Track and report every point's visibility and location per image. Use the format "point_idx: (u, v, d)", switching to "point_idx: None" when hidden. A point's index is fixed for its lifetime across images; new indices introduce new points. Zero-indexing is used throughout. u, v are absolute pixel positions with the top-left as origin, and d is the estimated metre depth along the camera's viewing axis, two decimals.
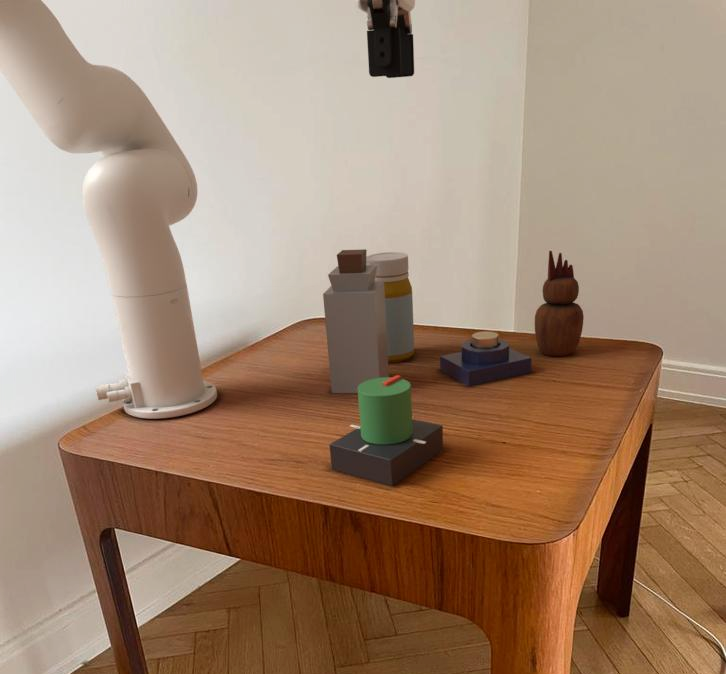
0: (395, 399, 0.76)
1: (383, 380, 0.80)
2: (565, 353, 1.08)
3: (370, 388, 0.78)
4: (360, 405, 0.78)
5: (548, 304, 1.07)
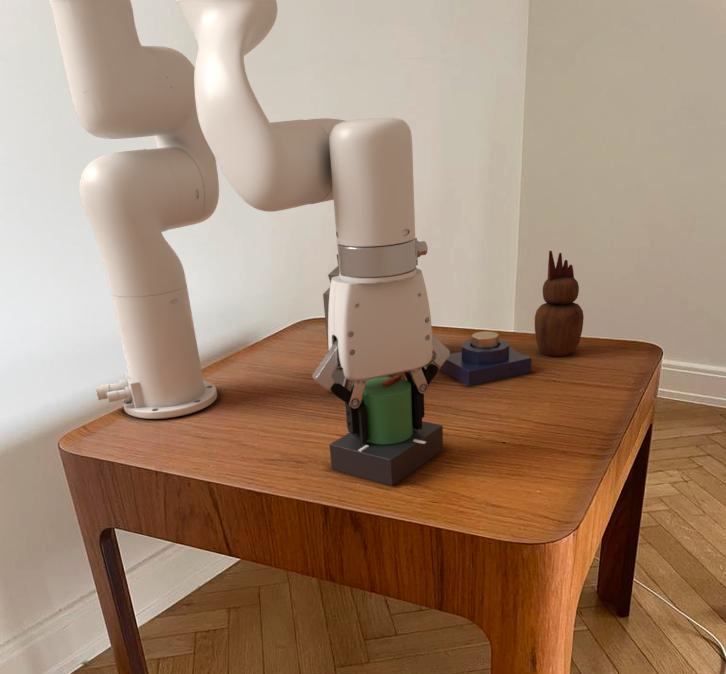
0: (395, 399, 0.76)
1: (383, 380, 0.80)
2: (565, 353, 1.08)
3: (370, 388, 0.78)
4: None
5: (548, 304, 1.07)
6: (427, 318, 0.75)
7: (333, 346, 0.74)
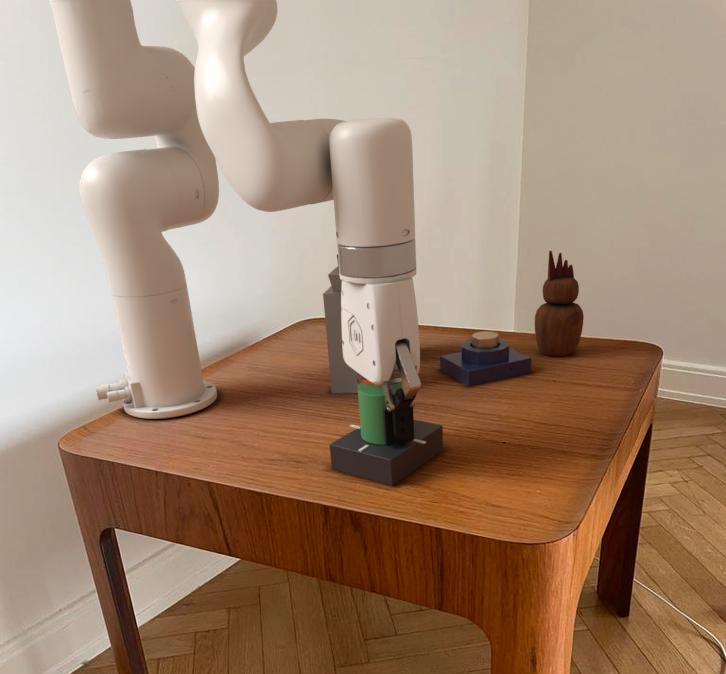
0: None
1: (367, 387, 0.78)
2: (565, 353, 1.08)
3: None
4: None
5: (548, 304, 1.07)
6: None
7: (401, 351, 0.71)
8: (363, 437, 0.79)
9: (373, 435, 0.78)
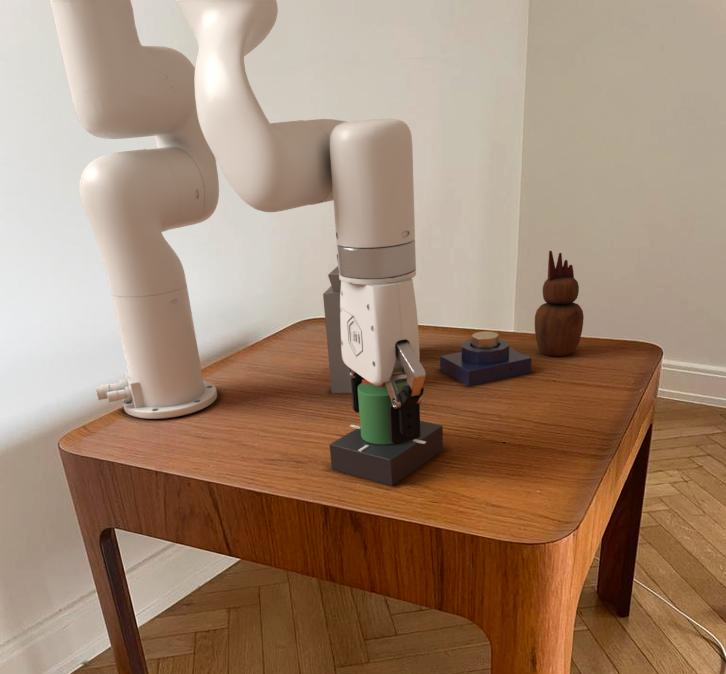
0: None
1: (367, 387, 0.78)
2: (565, 353, 1.08)
3: None
4: None
5: (548, 304, 1.07)
6: None
7: (401, 346, 0.71)
8: (363, 437, 0.79)
9: (373, 435, 0.78)
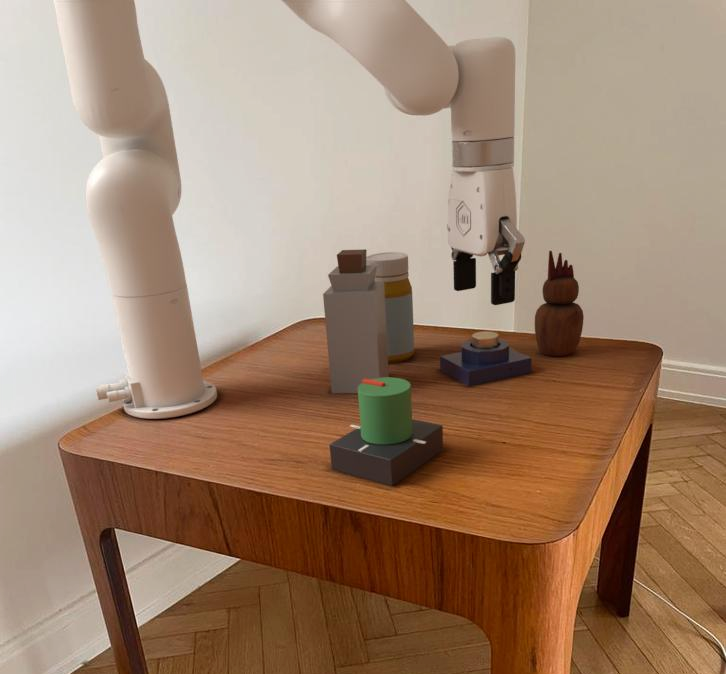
0: None
1: (367, 387, 0.78)
2: (565, 353, 1.08)
3: (389, 390, 0.77)
4: (395, 409, 0.76)
5: (548, 304, 1.07)
6: None
7: (504, 221, 0.90)
8: (363, 437, 0.79)
9: (373, 435, 0.78)
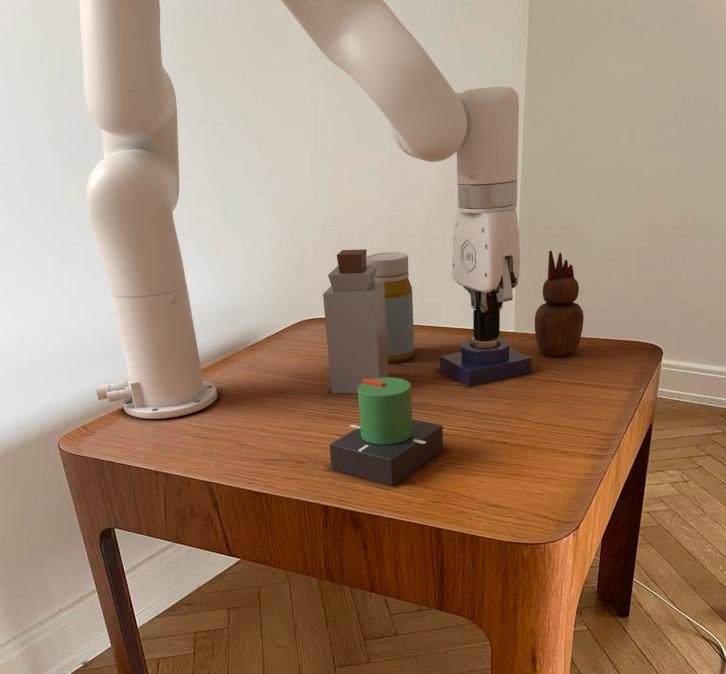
0: None
1: (367, 387, 0.78)
2: (565, 353, 1.08)
3: (389, 390, 0.77)
4: (395, 409, 0.76)
5: (548, 304, 1.07)
6: None
7: (504, 270, 0.95)
8: (363, 437, 0.79)
9: (373, 435, 0.78)
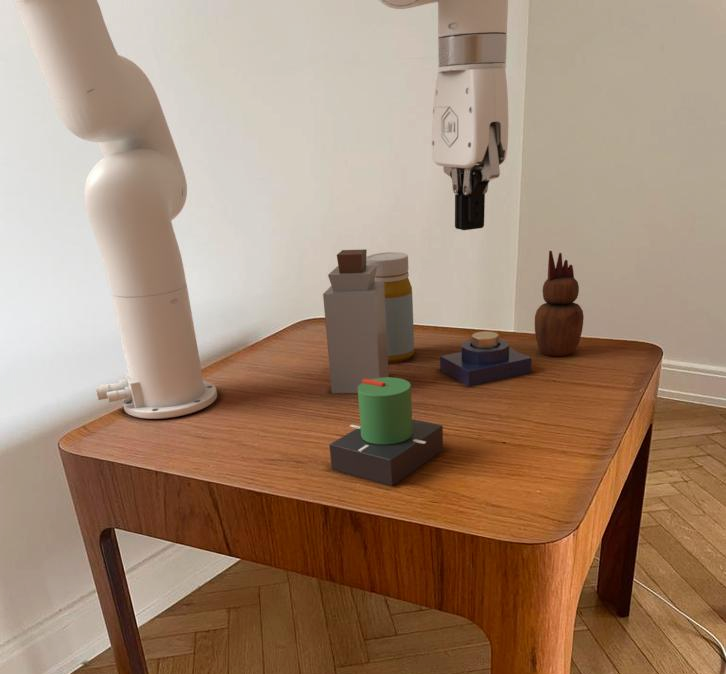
0: None
1: (367, 387, 0.78)
2: (565, 353, 1.08)
3: (389, 390, 0.77)
4: (395, 409, 0.76)
5: (548, 304, 1.07)
6: None
7: (490, 140, 0.83)
8: (363, 437, 0.79)
9: (373, 435, 0.78)
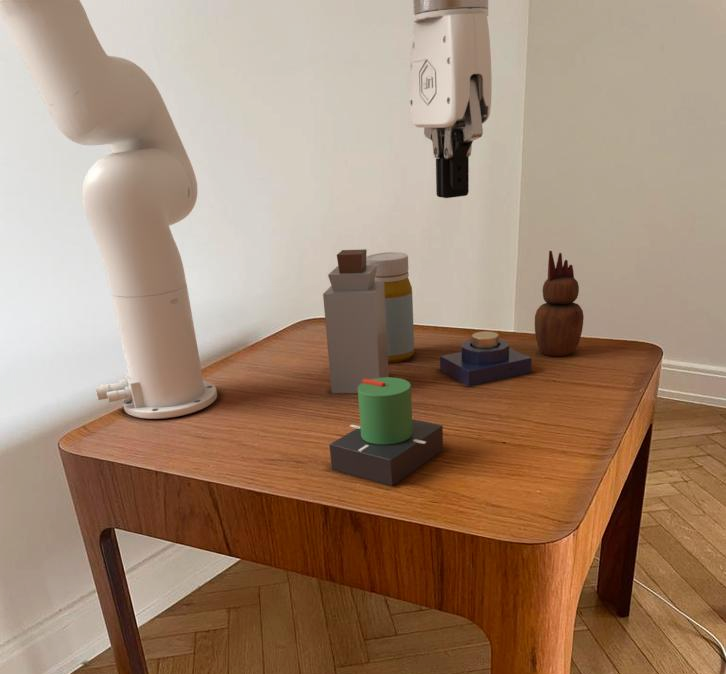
0: None
1: (367, 387, 0.78)
2: (565, 353, 1.08)
3: (389, 390, 0.77)
4: (395, 409, 0.76)
5: (548, 304, 1.07)
6: None
7: (471, 95, 0.75)
8: (363, 437, 0.79)
9: (373, 435, 0.78)
